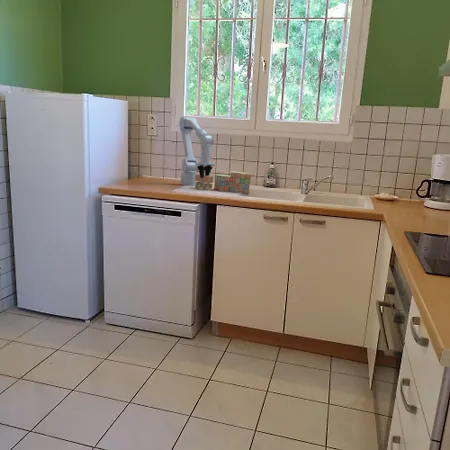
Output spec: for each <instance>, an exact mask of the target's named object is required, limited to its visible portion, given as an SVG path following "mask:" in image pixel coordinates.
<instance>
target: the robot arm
mask: <svg viewBox="0 0 450 450" xmlns="http://www.w3.org/2000/svg"><path fill="white" fill-rule="evenodd" d="M178 121H179V123H178V124H179V129H180V132H181V138H182V144H183V150H184V156H185V157H184V158H183V159H182V161H181V164H182V165H181V168H182V171H183V172H182V173H181V175H180V184H181V185H184V186H189V187H195V182H196V181H195V174H200V178H203V177H204V175H207V176H210V174H211V171H212V169H213V167H215V165H216V164H215V162H211V151H212V145H213V144H214V137H213V135H210V134H208V133H207V131H206V130H205V129H204V128H201V127H200V125H199V124H198V119H196V118H195V117H190V116H181V117H180V118H179V120H178ZM193 131H195V136H197V138H198V139H199V143H200V148H201V150H200V161H199V162H198V159H197V158H196V157H195V156H194V150H193V145H192V138H191V133H193Z"/></svg>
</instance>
